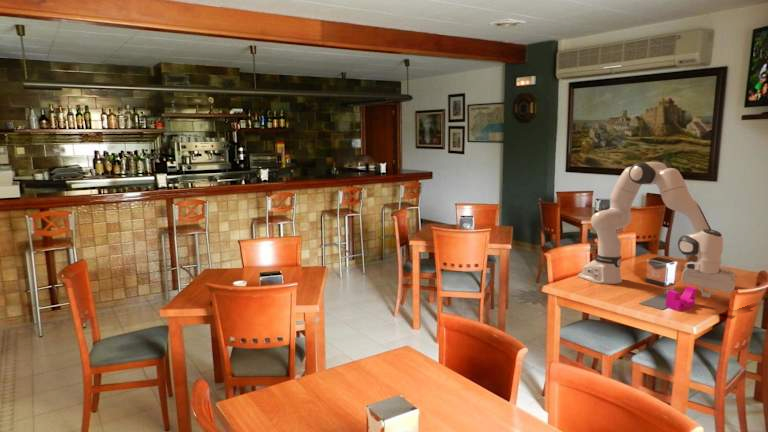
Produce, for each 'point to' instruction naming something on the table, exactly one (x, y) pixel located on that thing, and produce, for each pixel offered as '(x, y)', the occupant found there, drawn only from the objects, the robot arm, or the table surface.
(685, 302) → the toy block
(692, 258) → the stone cup
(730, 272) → the robot arm
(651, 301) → the rubber mat
